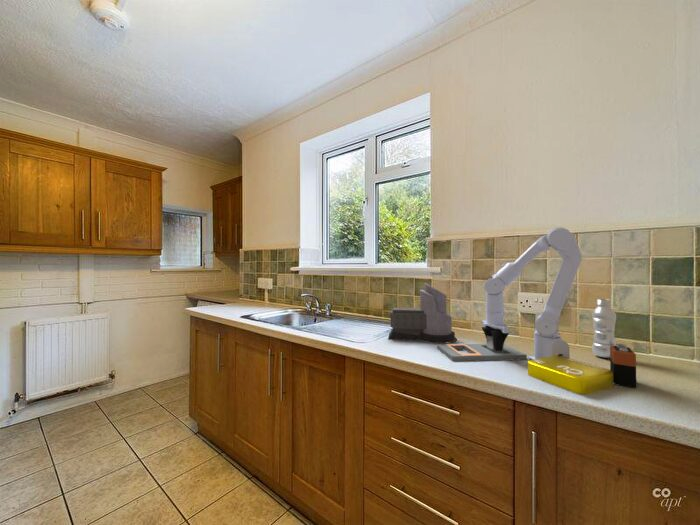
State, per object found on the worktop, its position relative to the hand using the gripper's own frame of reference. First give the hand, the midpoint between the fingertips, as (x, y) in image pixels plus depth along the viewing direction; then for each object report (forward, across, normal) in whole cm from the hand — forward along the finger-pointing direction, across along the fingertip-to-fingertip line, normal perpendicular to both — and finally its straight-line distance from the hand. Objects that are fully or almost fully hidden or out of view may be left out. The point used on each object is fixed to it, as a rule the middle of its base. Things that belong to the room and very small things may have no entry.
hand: (495, 348), depth 102 cm
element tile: (+2, +24, +7) cm, 25 cm away
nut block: (+2, 0, 0) cm, 2 cm away
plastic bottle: (+2, +7, +35) cm, 36 cm away
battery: (+2, +27, +20) cm, 34 cm away
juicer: (+2, -24, -19) cm, 31 cm away
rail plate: (+2, 0, -6) cm, 6 cm away
